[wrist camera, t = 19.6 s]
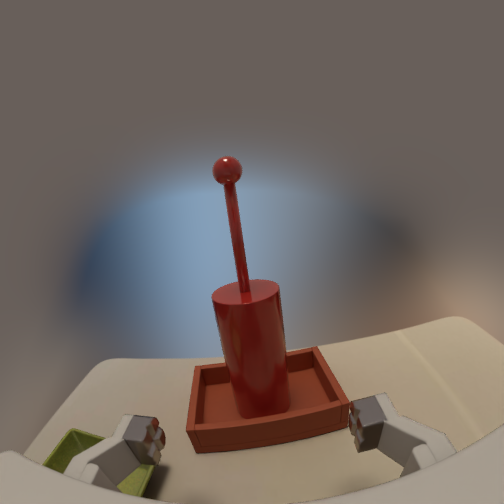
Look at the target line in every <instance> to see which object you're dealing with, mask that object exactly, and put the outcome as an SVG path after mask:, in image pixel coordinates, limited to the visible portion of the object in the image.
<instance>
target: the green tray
mask: <svg viewBox="0 0 504 504" xmlns="http://www.w3.org/2000/svg"><path fill="white" fill-rule="evenodd" d="M104 439H106V438H104V437H100V436H97V435H93V434H90V433H87V432H84V431H81V430H78V429H75V428H72V429H70V430H69V431H68V432H67V433H66V434H65V436H64V437H63V438H62V439H61V441H60V442H59V444H58V445H57V446H56V447H55V449H54V450H53V451H52V453H51V454H50V455H49V457H48V458H47V459H46V461H45V462H44V463H43V466H46V467H48V468H50V469H52V470H55V471H57V472H59V473H62V474H63V473H64V472H65V470H66V468H67V467H68V465H69V463H70V462H71V460H72V458H73V457H74V456H76V455H78V454H80V453H81V452H83V451H85V450H87V449H89V448H90V447H92V446H94V445H96V444H97V443H99V442H101V441H102V440H104ZM154 468H155V465H146V464H141V465H140V466H139V467H138V468H137V469H136V470H135V471H133V472H132V473H131V474H130V475H129V476H128V477H127V478H125V479H124V480H123V481H122V482H121V483H119V484H118V485H117V488H118V489H119V490H120V491H121V492H122V493H124V494H129V495H133V496H138V497H142V496H143V494H144V491H145V489H146V487H147V484H148V482H149V480H150V477H151V475H152V473H153V470H154Z"/></svg>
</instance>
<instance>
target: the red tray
mask: <svg viewBox="0 0 504 504" xmlns="http://www.w3.org/2000/svg"><path fill="white" fill-rule="evenodd" d="M286 354H287V364H288V374H289V385H290V396H291V405H290V408H289V409H288V411H287V412H286V413H282V414H276V415H271V416H265V417H259V418H252V419H245V418H243V417H242V416H241V415H240V414H239V413H238V411H237V408H236V404H235V400H234V396H233V392H232V388H231V384H230V380H229V376H228V372H227V367H226V363H218V364H210V365H202V366H195V370H194V376H193V383H192V389H191V396H190V403H189V411H188V418H187V426H186V432H187V434H188V436H189V438H190V440H191V443H192V445H193V447H194V449H195V451H196V453H206V452H220V451H231V450H241V449H249V448H256V447H263V446H269V445H275V444H280V443H285V442H290V441H295V440H300V439H304V438H309V437H313V436H317V435H321V434H324V433H328V432H332V431H335V430H339V429H342V428H345V427H347V425H348V415H349V405H350V402H349V400H348V399H347V397H346V395H345V393H344V392H343V390H342V388H341V386H340V385H339V383H338V381H337V380H336V378H335V376H334V374H333V373H332V371H331V369H330V368H329V366H328V364H327V363H326V361H325V359H324V357H323V356H322V354H321V352H320V351H319V349H318V347H317V346H315V347H311V348H307V349H302V350H297V351H292V352H287V353H286Z"/></svg>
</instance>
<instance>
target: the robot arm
mask: <svg viewBox="0 0 504 504" xmlns="http://www.w3.org/2000/svg"><path fill="white" fill-rule="evenodd" d="M350 410H351V413H350V414H349V428H350V432H351V434H352V435H353V436H355V438H354V443H355V446H356V449H357V452H358V453H360V452H364V451H368V450H372V449H375V448H377V449H378V450H380V451H381V452H382V453H384V454H385V455H387V456H388V457H390V458H391V459H393V460H394V461H395V462H397V463H398V464H400V465H401V466H403V467H404V469H403V471H402V473H401V475H400V477H399V478H397V479H395V480H392V481H389V482H386V483H383V484H380V485H376V486H373V487H370V488H366V489H363V490H359V491H355V492H351V493H347V494H343V495H338V496H333V497H328V498H323V499H318V500H312V501H305V502H298V503H289V504H504V424H502V425H501V426H499V427H498V428H496V429H495V430H493V431H492V432H490V433H489V434H487V435H486V436H484V437H482V438H481V439H479V440H478V441H476V442H474V443H472V444H471V445H469V446H467V447H465V448H464V449H462V450H460V451H458V452H457V451H456V450H455V448H454V447H453V445H452V444H451V442H450V440H449V439H448V437H447V436H446V434H445V433H443V432H440V431H438V430H435V429H433V428H430V427H428V426H426V425H423V424H421V423H419V422H416V421H414V420H412V419H410V418H407V417H405V416H399V414H398V412H397V411H396V409H395V407H394V405H393V404H392V402H391V400H390V399H389V397H388V395H387V394H386V393H385V392H384V393H381V394H377V395H374V396H370V397H366V398H362V399H358V400H354V401H351V402H350ZM158 425H159V421H158V420H157V418H155V417H148V416H139V415H129V414H125V415H123V417H122V418H121V420H120V422H119V424H118V426H117V428H116V430H115V431H114V433H113V435H112V437H108V438H106V439H104V440H102V441H101V442H99V443H97V444H96V445H94V446H92V447H90V448H89V449H87V450H85V451H83V452H81V453H80V454H78V455H76V456H74V457H73V458H72V460H71V462H70V463H69V465H68V467H67V468H66V470H65V472H64V473H63V474H62V473H59V472H57V471H55V470H52V469H50V468H48V467H46V466H43V465H41V464H39V463H37V462H35V461H33V460H31V459H29V458H27V457H25V456H23V455H21V454H19V453H18V452H15V451H12V450H9V451H5V452H1V453H0V504H181V503H173V502H166V501H159V500H153V499H148V498H143V497H138V496H133V495H129V494H124V493H122V492H121V491H120V490H119V489H118V488H117V485H118V484H119V483H121V482H122V481H123V480H124V479H125V478H127V477H128V476H129V475H130V474H131V473H132V472H133V471H135V470H136V469H137V468H138V467H139V466H140V465H141V464H146V465H155V466H158V464H159V461H160V458H161V453H160V451H161V450H162V449H163V448H164V446H165V438H166V437H165V433H164V431H163V429H161V428H160V427H159V426H158Z"/></svg>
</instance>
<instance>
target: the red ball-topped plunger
mask: <svg viewBox="0 0 504 504" xmlns="http://www.w3.org/2000/svg"><path fill="white" fill-rule="evenodd" d="M241 175H242V166H241V164H240V163H239V161H238V160H237V159H236V158H234V157H231V156H225V157H221V158H220V159H218V160H217V161H216V162H215V164H214V166H213V176H214V178H215V180H216V181H217V182H218V183H220V184H222V185H224V192H225V199H226V205H227V212H228V218H229V226H230V232H231V238H232V246H233V252H234V258H235V265H236V270H237V277H238V282H234V283H231V284H227V285H225V286H223V287H220V288H219V289H217V290H216V291H214V293H213V294H212V302H213V307H214V311H215V317H216V322H217V327H218V331H219V336H220V341H221V345H222V350H223V354H224V359H225V363H226V367H227V372H228V376H229V380H230V384H231V388H232V392H233V396H234V400H235V404H236V408H237V411H238V413H239V414H240V415H241V416H242V417H243V418H245V419H252V418H259V417H265V416H271V415H276V414H282V413H286V412H287V411H288V409H289V408H290V405H291V396H290V385H289V374H288V364H287V354H286V344H285V335H284V325H283V316H282V307H281V298H280V289H279V285H278V284H277V283H275V282H273V281H269V280H259V279H256V280H249V276H248V269H247V263H246V257H245V249H244V243H243V235H242V229H241V222H240V215H239V208H238V201H237V194H236V187H235V183H236V182H237V181H238V180H239V179H240V177H241Z"/></svg>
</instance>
